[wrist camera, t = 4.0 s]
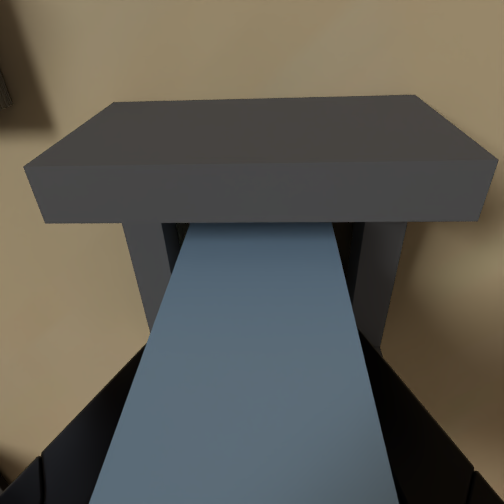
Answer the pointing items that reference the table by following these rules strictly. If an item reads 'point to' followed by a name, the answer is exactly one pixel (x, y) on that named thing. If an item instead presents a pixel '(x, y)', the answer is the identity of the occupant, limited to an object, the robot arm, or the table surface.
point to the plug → (251, 380)
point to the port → (4, 95)
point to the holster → (266, 178)
